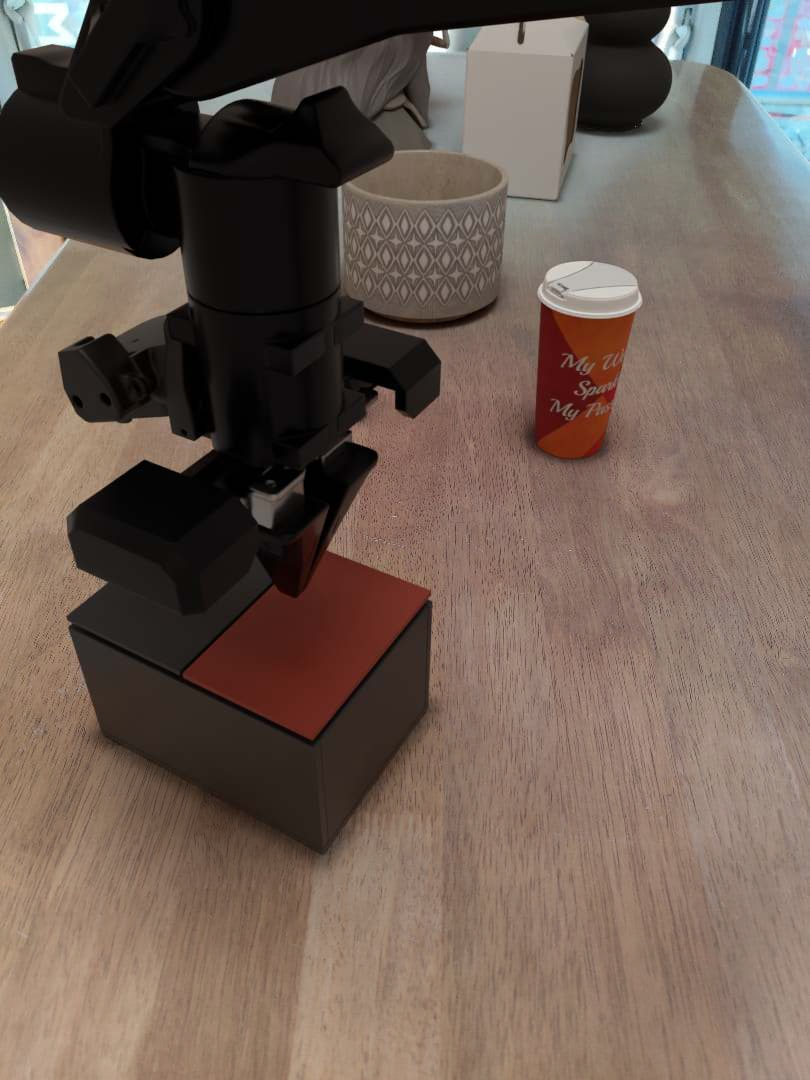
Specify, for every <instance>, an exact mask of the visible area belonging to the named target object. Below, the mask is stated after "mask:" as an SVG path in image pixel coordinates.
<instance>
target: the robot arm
mask: <svg viewBox="0 0 810 1080" xmlns="http://www.w3.org/2000/svg"><path fill="white" fill-rule="evenodd" d="M733 1H734V2H735V1H736V0H89V1H88V4H87V7H86V11H85V14H84V17H83V19H82V23H81V26H80V29H79V33H78V35H77V38H76V42H75V45H74V47H72V46H67V45H61V44H56V43H55V44H54V43H50V44H46V45H41V46H37V47H33V48H28V49H24V50H20V51H15V52H12V54H11V56H10V62H11V66H12V69H13V75H14V78H15V82H16V89H15V90H14V91H13V92H12V94H11V95H10V96H9V97H8V98H7V100H6V101H5V102H4V104H3V105H2V107H1V110H0V199H1V202H3V204H4V205H5V207H6V208H7V210H8V211H9V212H10V213H11V214H12V215H13V216H14V217H15V218H16V219H17V220H18V221H19V222H20V223H22V224H23V225H25V226H28V227H29V228H31V229H33V230H36V231H39V232H43V233H46V234H51V235H54V236H59V237H61V238H65V239H69V240H73V241H76V242H79V243H84V244H87V245H91V246H94V247H98V248H101V249H105V250H109V251H111V252H112V251H113V252H117V253H120V254H124V255H126V256H127V255H128V256H131V257H135V258H137V259H138V258H139V259H144V260H149V261H153V260H158V259H164V258H167V257H169V256H171V255H172V254H174V253H175V252H176V251H177V250H178V249H180V250H179V251H180V255H181V262H182V263H181V264H182V269H183V276H184V282H185V290H186V296H187V302H185V303H183V304H182V305H179V306H177V308H174V309H173V310H171V311H168V312H167V313H166V314H162V315H158V316H155V317H153V318H150V319H147V320H146V321H143V322H141V323H139V324H137V325H135V326H133V327H132V328H129V329H128V330H126V331H124V332H122V333H120V334H119V335H117V336H115V335H114V334H113V333H104V334H102V335H100V336H98V337H97V338H95V337H94V336H93V335H89V336H88V335H87V336H85V337H83V338H81V339H79V340H77V341H75V342H74V343H72V344H70V345H68V346H66V347H65V348H63V349H61V350H59V351H57V357H58V361H59V368H60V375H61V381H62V382H61V383H62V386H63V390H64V392H65V395H66V396H67V398H68V400H69V403H70V404H71V406H72V408H73V410H74V411H75V414H76V416H78V417H79V418H80V419H81V420H83V421H84V422H85V423H89V424H96V423H117V424H122V425H123V424H130V423H132V421H133V419H134V420H136V419H151V418H166V417H168V419H169V425H170V431H171V434H172V435H175V436H178V437H181V438H183V439H186V440H189V441H192V442H196V441H197V440H199V439H200V438H202V437H203V438H206V439H209V440H210V441H211V446H212V449H210V450H209V451H208V452H207V453H206V454H204V455H203V456H202V457H200V458H199V459H198V460H196V461H195V462H194V463H192V464H190V465H189V466H188V467H186V468H185V469H184V470H183V471H181V472H179V471H176V470H173V469H170V468H168V467H165V466H162V465H160V464H159V463H158V464H157V463H155V462H153V461H150V460H147V459H144V458H143V459H142V460H141V461H140V462H138V463H137V464H135V465H133V466H132V467H131V468H130V469H128V470H126V471H125V472H124V473H122V474H121V475H119V476H118V477H116V478H115V479H114V480H112V481H111V482H110V483H108V484H106V485H105V486H104V487H102V488H101V489H99V490H98V491H96V492H95V493H93V494H92V495H90V496H89V497H88V498H86V499H85V500H84V501H82V502H80V503H79V504H78V505H77V506H76V507H75V508H74V509H73V510H72V511H71V512H70V513H69V514H68V515H67V516H66V518H65V519H66V534H67V538H68V541H69V545H70V549H71V552H72V555H73V559H74V562H75V565H76V568H77V569H78V570H81V571H82V572H83V573H87V574H89V575H91V576H93V577H96V578H97V579H99V580H102V581H104V582H106V583H110V584H113V585H115V586H117V587H119V588H121V589H123V590H126V591H128V592H130V593H132V594H134V595H137V596H139V597H141V598H143V599H145V600H147V601H150V602H152V603H154V604H156V605H158V606H160V607H163V608H165V609H167V610H169V611H171V612H174V613H176V614H178V615H180V616H188V615H194V614H200V613H205V612H206V611H207V610H208V609H209V608H210V607H212V606H213V605H214V604H215V603H216V602H217V601H218V600H219V599H220V598H221V597H222V596H223V595H225V594H226V593H227V592H228V591H229V590H230V589H231V588H232V587H233V586H234V585H235V584H236V583H238V582H239V581H240V580H241V579H242V578H243V577H244V576H245V575H246V574H247V573H248V572H249V571H250V569H251V566H252V564H253V561H254V558H255V556H257V558H258V559H259V561H260V562H261V564H262V566H263V567H264V569H265V570H266V572H267V573H268V575H269V576H270V578H271V580H272V581H273V583H274V584H275V586H276V587H277V589H278V590H279V591H280V592H281V593H283V594H286V595H288V596H290V597H293V598H297V597H298V596H299V595H300V594H301V593H302V592H303V591H304V590H305V589H306V588H307V586H308V584H309V582H310V580H311V579H312V577H313V575H314V573H315V571H316V569H317V567H318V565H319V563H320V561H321V559H322V558H323V556H324V554H325V552H326V550H327V551H328V548H329V546H330V544H331V542H332V541H333V538H334V536H335V535H336V533H337V531H338V529H339V528H340V526H341V524H342V522H343V520H344V518H345V516H346V515H347V513H348V512H349V510H350V507H351V506H352V505H353V502H354V501H355V499H356V497H357V495H358V493H359V491H360V490H361V488H362V487H363V485H364V483H365V481H366V479H367V477H368V476H369V475H370V473H371V472H372V471H373V469H374V468H376V466H377V464H378V461H379V453H378V452H377V451H376V450H375V449H373V448H372V447H369V446H365V445H362V444H359V443H356V442H354V441H353V431H352V430H350V429H351V428H353V427H354V426H355V425H356V424H357V423H358V422H360V420H362V419H363V418H364V417H365V416H367V415H366V414H367V413H366V412H367V409H369V408H370V407H371V406H373V405H374V404H375V403H376V402H377V401H378V400H379V391H378V390H376V388H377V387H381V388H384V389H387V390H390V391H393V392H394V410H396V411H397V412H398V413H399V414H400V415H402V416H403V417H406V418H409V419H413V420H415V419H416V418H417V417H418V416H419V415H420V414H421V413H422V412H423V411H425V410H426V409H427V408H428V407H429V406H430V405H431V404H432V403H433V402H434V401H436V399H438V398H439V397H440V396H441V376H442V360H441V359H440V357H439V356H438V355H437V353H436V352H435V351H434V349H433V348H432V347H431V345H430V344H429V343H428V341H427V339H425V338H423V337H419V336H416V335H412V334H408V333H404V332H401V331H397V330H394V329H389V328H386V327H383V326H378V325H375V324H371V323H367V322H365V307H364V301H361V300H357V299H353V298H351V297H350V296H346V295H342V277H341V275H342V273H341V246H340V219H339V216H340V215H339V193H338V191H339V189H338V188H339V187H341V186H342V185H344V184H346V183H348V182H349V181H351V180H353V179H355V178H357V177H359V176H361V175H363V174H365V173H367V172H369V171H371V170H373V169H375V168H377V167H379V166H381V165H383V164H385V163H387V162H389V161H390V160H391V159H392V158H393V156H394V152H395V151H394V145H393V143H392V142H391V140H390V139H389V138H388V137H387V136H386V135H385V134H384V133H383V132H382V131H381V129H380V128H379V127H378V126H377V125H376V124H375V123H374V122H373V121H371V120H370V119H369V118H367V117H366V116H365V115H364V114H363V113H362V112H361V111H360V110H359V109H358V108H357V106H356V105H355V103H354V102H353V100H352V98H351V96H350V94H349V92H348V91H347V89H346V88H345V87H344V86H341V85H338V86H335V87H332V88H330V89H327V90H324V91H321V92H319V93H316V94H313V95H311V96H308V97H305V98H304V99H302V100H301V102H300V103H299V105H298V107H297V106H291V105H285V104H280V103H274V102H271V101H267V100H262V99H257V98H241V99H236V100H234V101H231V102H229V103H227V104H226V105H224V106H223V107H221V108H220V109H219V110H217V111H216V112H215V113H214V114H213V115H212V114H207V113H203V112H202V113H201V110H200V105H199V104H200V103H201V102H205V101H211V100H214V99H217V98H221V97H223V96H226V95H229V94H232V93H235V92H238V91H242V90H245V89H247V88H250V87H253V86H257V85H259V84H262V83H265V82H268V81H271V80H275V79H276V78H277V77H280V76H283V75H286V74H289V73H292V72H295V71H298V70H301V69H304V68H307V67H310V66H313V65H316V64H319V63H322V62H325V61H328V60H331V59H334V58H337V57H340V56H342V55H345V54H348V53H351V52H354V51H357V50H360V49H363V48H366V47H368V46H371V45H374V44H377V43H380V42H383V41H386V40H389V39H391V38H394V37H397V36H400V35H404V34H414V33H424V32H433V33H434V32H442V31H443V30H448V31H452V30H462V29H463V30H464V29H472V28H480V27H481V28H482V27H483V26H492V25H502V24H511V23H521V22H531V21H540V20H550V19H560V18H570V17H579V16H589V15H599V14H609V13H618V12H628V11H638V10H648V9H657V8H667V7H671V8H676V7H685V6H693V5H704V4H706V5H707V4H715V3H724V2H733ZM199 102H200V103H199Z"/></svg>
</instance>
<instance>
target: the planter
mask: <svg viewBox="0 0 810 1080" xmlns="http://www.w3.org/2000/svg"><path fill="white" fill-rule="evenodd" d="M340 187H341V214H342V216H341V217H342V240H343V241H342V242H343V243H342V244H343V268H344V270H343V271H344V272H343V273H344V289H345V292H346V293H347V295H348V297H350V298H353V299H357V300H361V301H364V309H367V310H370V311H371V312H372V313H374V314H376V315H378V316H382V317H384V318H387V319H390V320H394V321H398V322H405V323H414V324H431V323H442V322H443V323H444V322H449V321H453V320H458V319H460V318H464V317H466V316H468V315H471V314H472V313H474V312H477V311H478V310H481V309H483V308H485V307H486V306H488V305H490V304H491V303H492V302H493V301H495V299H496V298H497V297H498V295H499V293H500V289H501V279H502V269H503V267H502V265H503V255H504V253H503V252H504V240H505V227H506V217H507V216H506V214H507V204H508V196H507V191H508V174H507V172H506V171H505V170H504V169H503V168H502V167H501V166H499V165H498V164H496V163H494V162H492V161H490V160H487V159H485V158H481V157H478V156H474V155H470V154H465V153H462V152H459V151H451V150H441V149H428V150H401V151H395V152H394V156H393V158H392V159H391V160H390V161H389V162H387V163H385V164H383V165H381V166H379V167H377V168H375V169H373V170H371V171H369V172H367V173H365V174H363V175H361V176H359V177H357V178H355V179H353V180H351V181H349V182H348V183H346V184H344V185H342V186H340Z"/></svg>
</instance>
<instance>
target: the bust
mask: <svg viewBox="0 0 810 1080" xmlns="http://www.w3.org/2000/svg"><path fill="white" fill-rule="evenodd" d="M441 36H442V38H441V37H438V36H436V35H434V31H433V32H424V33H414V34H404V35H400V36H397V37H394V38H391V39H389V40H386V41H383V42H380V43H377V44H374V45H371V46H368V47H366V48H363V49H360V50H357V51H354V52H351V53H348V54H345V55H342V56H340V57H337V58H334V59H331V60H328V61H325V62H322V63H319V64H316V65H313V66H310V67H307V68H304V69H301V70H298V71H295V72H292V73H289V74H286V75H283V76H280V77H277V78H274V82H273V86H272V90H271V97H270V102H274V103H280V104H285V105H291V106H297V107H298V105H299V103H300V102H301V100H302V99H304V98H305V97H308V96H311V95H313V94H316V93H319V92H321V91H324V90H327V89H330V88H332V87H335V86H338V85H341V86H344V87H345V88H346V89H347V91H348V92H349V94H350V96H351V98H352V100H353V102H354V103H355V105H356V106H357V108H358V109H359V110H360V111H361V112H362V113H363V114H364V115H365V116H366V117H367V118H369V119H370V120H371V121H373V122H374V123H375V124H376V125H377V126H378V127H379V128H380V129H381V131H382V132H383V133H384V134H385V135H386V136H387V137H388V138H389V139H390V140H391V142H392V143H393V145H394V151H401V150H430V149H431V148H432V146H433V145H432V143H431V141H430V139H429V138H428V136H427V135H426V134H425V133H424V130H426V129H428V128H429V127H430V125H429V118H428V116H429V105H430V103H429V102H430V95H431V84H430V79H429V72H428V66H427V64H428V62H427V61H428V60H427V53H428V50H429V48H430V47H431V46H433V47H435V48H440V49H443V50H444V49H445V50H448V49H449V48H450V45H451V38H450V34H449V30H443V31H441Z"/></svg>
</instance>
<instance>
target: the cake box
mask: <svg viewBox="0 0 810 1080" xmlns="http://www.w3.org/2000/svg"><path fill="white" fill-rule="evenodd" d="M588 28H589V24H588V23H587V22H586V20H585V18H584V16H579V17H570V18H560V19H550V20H540V21H531V22H521V23H511V24H502V25H492V26H482V27H481V28H480V30H479V31H478V33H477V35H476V36H475V38H474V40H473V41H472V43H471V44H470V45H469V46H468V48H467V49H466V53H465V54H466V57H465V74H464V75H465V79H464V96H463V97H464V100H463V118H462V120H463V121H462V141H461V153H465V154H470V155H474V156H478V157H481V158H485V159H487V160H490V161H492V162H494V163H496V164H498V165H499V166H501V167H502V168H503V169H504V170H505V171H506V172H507V174H508V191H507V197H511V198H521V199H524V198H525V199H533V200H542V201H543V200H544V201H554V202H556V201H557V200H558V198H559V195H560V192H561V189H562V186H563V184H564V181H565V177H566V175H567V172H568V170H569V166H570V163H571V161H572V159H573V158H572V157H573V154H574V150H575V141H576V133H577V126H578V125H577V118H578V109H579V101H580V93H581V85H582V77H583V69H584V61H585V52H586V44H587V36H588Z"/></svg>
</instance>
